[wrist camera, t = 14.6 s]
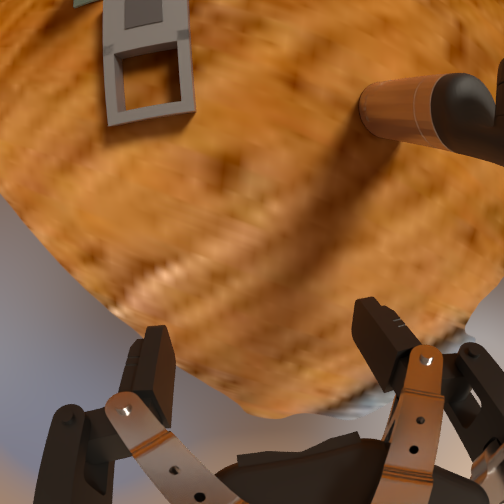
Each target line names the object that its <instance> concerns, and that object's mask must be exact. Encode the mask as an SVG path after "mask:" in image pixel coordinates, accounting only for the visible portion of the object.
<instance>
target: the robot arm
mask: <svg viewBox="0 0 504 504" xmlns="http://www.w3.org/2000/svg"><path fill="white" fill-rule="evenodd" d="M359 112H360V116H361V120H362V122H363V124H364V125H365V127H366V128H367V129H368V130H369V131H370V132H371V133H372V134H373V135H375V136H377V137H380V138H385V139H391V140H396V141H402V142H407V143H413V144H418V145H423V146H428V147H433V148H437V149H442V150H447V151H451V152H455V153H458V154H463V155H467V156H471V157H475V158H478V159H482V160H485V161H489V162H492V163H495V164H498V165H500V166H503V167H504V58H503V60H502V61H501V62H500V64H499V68H498V75H497V91H496V105H495V102H494V100H493V98H492V96H491V94H490V92H489V90H488V89H487V88H486V86H485V85H484V84H483V83H482V82H481V81H480V80H479V79H477V78H476V77H474V76H472V75H469V74H466V73H452V74H439V75H430V76H421V77H412V78H404V79H397V80H390V81H383V82H377V83H374V84H371V85H369V86H368V87H367V88H366V89H365V90H364V91H363V93H362V95H361V97H360V101H359ZM352 337H353V340H354V342H355V343H356V345H357V347H358V349H359V350H360V352H361V354H362V355H363V357H364V359H365V360H366V362H367V364H368V366H369V367H370V369H371V371H372V373H373V374H374V376H375V378H376V379H377V381H378V383H379V385H380V386H381V388H382V390H383V392H384V393H386V392H389V391H392V390H394V392H395V393H396V395H395V397H394V400H393V405H392V408H391V411H390V415H389V418H388V422H387V425H386V428H385V431H384V435H383V437H382V439H381V440H377V439H368V438H362V439H360V437H359V434H358V432H357V431H356V432H353V433H350V434H346V435H342V436H338V437H335V438H330V439H328V440H326V441H324V442H322V443H320V444H318V445H316V446H314V447H311V448H309V449H307V450H305V451H302V452H276V451H265V452H258V453H250V454H242V455H237V461H238V463H235V464H232V465H230V466H228V467H225V468H224V469H222V470H220V471H219V472H217V473H216V474H215V475H213V474H212V473H211V472H210V471H209V470H208V469H207V468H206V467H205V466H204V465H203V464H202V463H201V462H200V461H199V460H198V459H197V458H196V457H195V456H194V455H193V454H192V453H191V452H190V451H189V450H188V449H187V448H186V447H185V446H184V445H183V444H182V442H181V441H180V440H179V439H178V438H177V437H176V436H175V435H174V434H173V433H172V432H171V431H167V430H166V429H165V428H171V418H172V405H173V392H174V380H175V379H174V378H175V369H176V360H175V354H174V350H173V347H172V344H171V340H170V337H169V334H168V330H167V327H166V326H165V325H158V326H148V327H147V329H146V333H145V337H144V339H137V340H136V341H135V342H134V344H133V345H132V346H131V347H130V350H129V354H128V358H127V361H126V366H125V368H124V372H123V375H122V380H121V383H120V387H119V391H118V393H117V394H115V395H113V396H112V397H111V398H109V400H108V401H107V403H106V405H105V407H103V408H100V409H96V410H92V411H87V412H84V411H83V409H82V408H81V407H80V406H78V405H75V404H68V405H65V406H62V407H61V408H59V409H58V410H57V411H56V412H55V414H54V416H53V419H52V422H51V426H50V429H49V433H48V437H47V440H46V444H45V448H44V452H43V456H42V461H41V465H40V469H39V474H38V479H37V484H36V489H35V496H34V501H33V504H112V493H113V478H114V464H115V460H118V459H123V458H127V457H131V456H133V457H134V459H135V460H136V461H137V463H138V464H139V465H140V467H141V468H142V469H143V471H144V472H145V473H146V474H147V476H148V477H149V478H150V480H151V481H152V482H153V483H154V485H155V486H156V487H157V488H158V490H159V491H160V492H161V493H162V494H163V495H164V497H165V498H166V499H167V500H168V501H169V503H170V504H502V503H504V372H503V371H502V369H501V368H500V367H499V365H498V364H497V363H496V362H495V361H494V359H493V358H492V357H491V356H490V354H489V353H488V352H487V351H486V350H485V349H484V348H483V347H482V346H481V345H479V344H477V343H473V342H467V343H464V344H463V345H461V347H460V349H459V351H458V353H453V354H441V352H440V351H439V350H438V349H437V348H435V347H433V346H430V345H422V344H421V343H420V341H419V340H418V339H417V338H416V337H415V335H414V334H413V333H412V332H411V330H410V329H409V328H408V327H407V326H405V323H404V322H403V321H402V320H400V317H399V316H398V315H397V314H396V312H395V311H393V310H392V309H390V308H388V307H387V306H381V305H380V304H379V303H378V301H377V300H376V299H375V298H374V297H367V298H362V299H357V300H356V301H355V306H354V314H353V321H352ZM472 389H473V390H474V391H475V393H476V394H477V396H478V397H479V399H480V401H481V406H482V407H480V406H479V404H478V403H477V401H476V400H475V398H474V396H473V395H472V393H471V392H470V391H471V390H472ZM443 409H444V411H445V412H446V414H447V416H448V417H449V419H450V421H451V423H452V424H453V426H454V428H455V430H456V432H457V434H458V435H459V437H460V439H461V441H462V443H463V444H464V447H465V448H466V450H467V452H468V454H469V456H470V458H471V460H472V462H473V464H472V467H471V474H472V475H471V477H470V479H467V478H465V477H462V476H460V475H457V474H455V473H453V472H450V471H448V470H445V469H443V468H441V467H439V466H436V465H434V464H435V459H436V454H437V449H438V443H439V437H440V431H441V424H442V417H443Z"/></svg>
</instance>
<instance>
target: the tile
mask: <svg viewBox="0 0 504 504" xmlns="http://www.w3.org/2000/svg"><path fill="white" fill-rule="evenodd" d="M94 1H98V0H74V3H73V7H74V8H77V7H80V6H83V5H85V4H88V3H91V2H94Z"/></svg>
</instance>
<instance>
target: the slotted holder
mask: <svg viewBox="0 0 504 504" xmlns="http://www.w3.org/2000/svg"><path fill="white" fill-rule="evenodd" d="M177 48H178V62H179V76H180V89H181V101H178V102H171V103H165V104H159V105H153V106H148V107H143V108H138V109H133V110H128V111H126V108H125V96H124V83H123V67H122V59H125V58H130V57H134V56H139V55H143V54H148V53H154V52H159V51H165V50H171V49H177ZM103 65H104V84H105V98H106V109H107V119H108V126H118V125H123V124H128V123H133V122H138V121H143V120H148V119H154V118H160V117H166V116H172V115H179V114H186V113H193V112H196V103H195V91H194V79H193V66H192V51H191V36H190V18H189V0H103Z"/></svg>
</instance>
